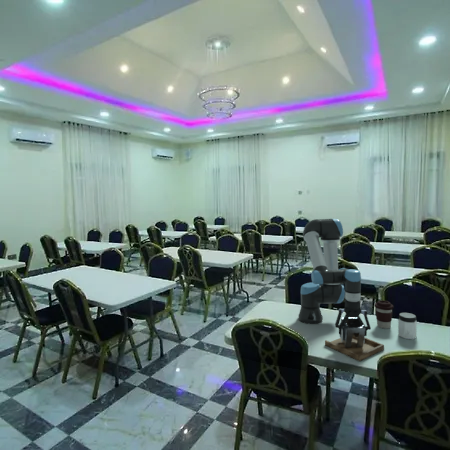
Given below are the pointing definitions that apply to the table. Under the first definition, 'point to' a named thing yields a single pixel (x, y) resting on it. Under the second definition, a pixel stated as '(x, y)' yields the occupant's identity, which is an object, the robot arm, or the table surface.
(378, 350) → the tray
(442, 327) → the table surface
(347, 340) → the grey piece
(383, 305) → the coffee cup
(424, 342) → the table surface
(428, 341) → the table surface
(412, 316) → the jar
